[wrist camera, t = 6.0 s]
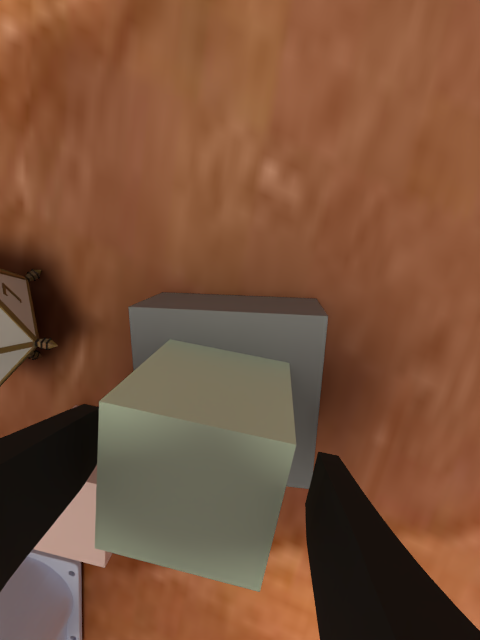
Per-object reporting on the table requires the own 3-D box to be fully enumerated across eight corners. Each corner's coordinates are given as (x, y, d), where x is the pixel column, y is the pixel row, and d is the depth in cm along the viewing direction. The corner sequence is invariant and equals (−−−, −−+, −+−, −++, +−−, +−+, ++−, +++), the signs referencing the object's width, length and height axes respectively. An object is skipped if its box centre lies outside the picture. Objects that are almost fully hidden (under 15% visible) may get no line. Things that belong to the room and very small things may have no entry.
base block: (304, 433, 17) (311, 489, 13) (171, 421, 18) (141, 469, 14) (315, 297, 15) (328, 316, 11) (164, 291, 16) (128, 306, 12)
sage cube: (266, 464, 13) (259, 592, 8) (160, 440, 14) (94, 548, 9) (289, 362, 12) (296, 444, 7) (170, 339, 12) (98, 401, 7)
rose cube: (148, 486, 19) (104, 567, 14) (76, 469, 20) (11, 543, 15) (153, 421, 18) (107, 486, 13) (76, 404, 18) (4, 462, 13)
